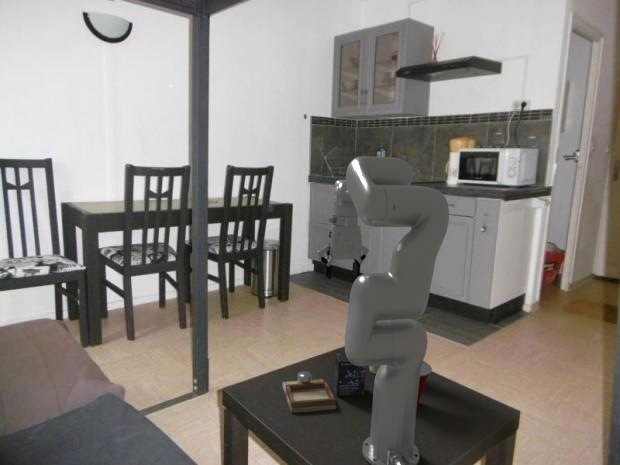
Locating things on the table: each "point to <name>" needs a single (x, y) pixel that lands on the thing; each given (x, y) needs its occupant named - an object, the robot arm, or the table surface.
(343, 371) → the box
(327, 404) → the plate
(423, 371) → the plastic cup
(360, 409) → the table surface
